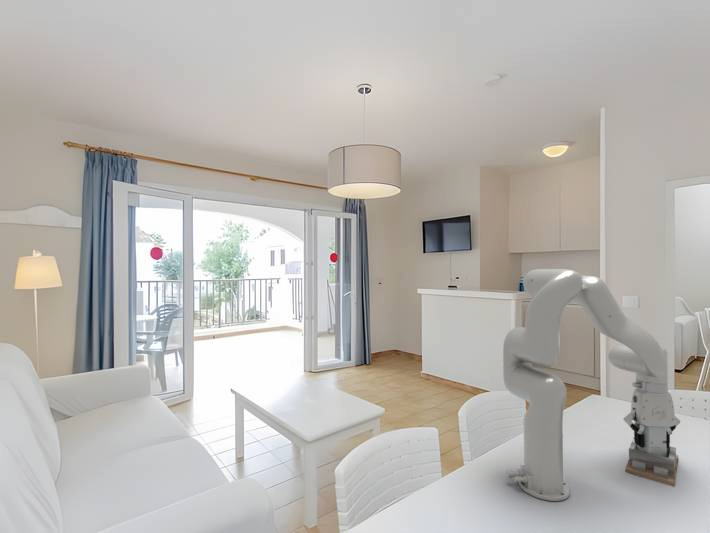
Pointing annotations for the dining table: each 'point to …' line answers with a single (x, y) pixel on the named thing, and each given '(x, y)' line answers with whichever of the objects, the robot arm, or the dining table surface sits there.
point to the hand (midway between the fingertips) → (651, 445)
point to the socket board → (653, 464)
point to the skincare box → (655, 441)
